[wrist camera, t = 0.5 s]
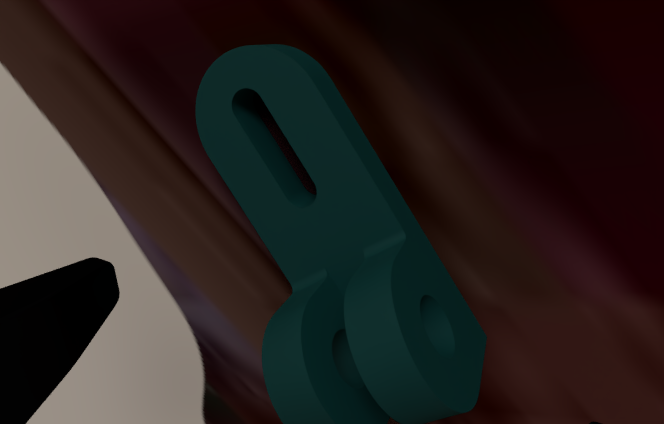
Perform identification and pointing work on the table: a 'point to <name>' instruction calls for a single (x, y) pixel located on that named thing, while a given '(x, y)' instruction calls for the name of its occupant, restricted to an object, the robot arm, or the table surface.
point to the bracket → (337, 253)
